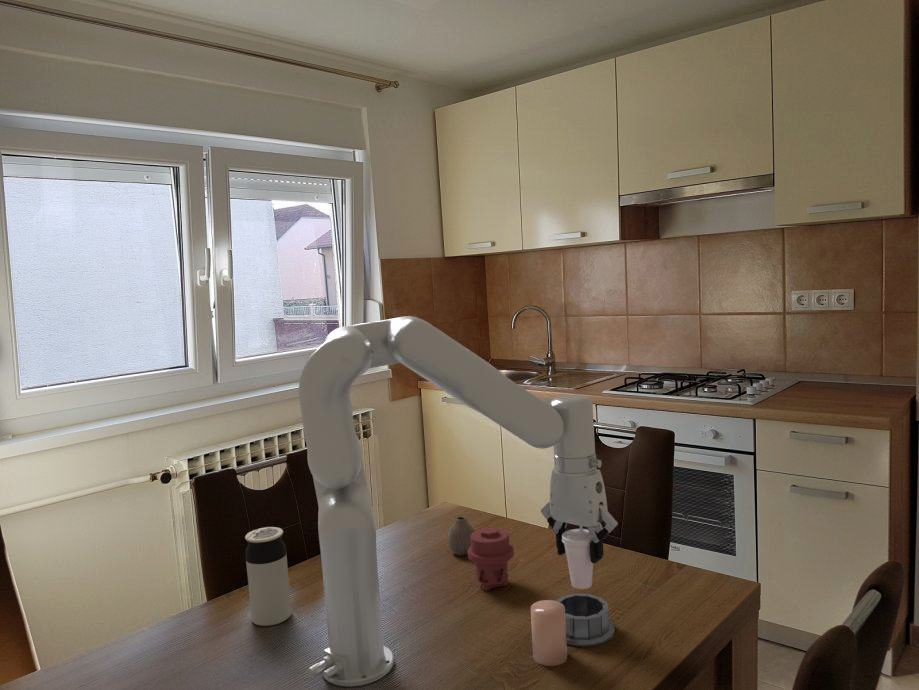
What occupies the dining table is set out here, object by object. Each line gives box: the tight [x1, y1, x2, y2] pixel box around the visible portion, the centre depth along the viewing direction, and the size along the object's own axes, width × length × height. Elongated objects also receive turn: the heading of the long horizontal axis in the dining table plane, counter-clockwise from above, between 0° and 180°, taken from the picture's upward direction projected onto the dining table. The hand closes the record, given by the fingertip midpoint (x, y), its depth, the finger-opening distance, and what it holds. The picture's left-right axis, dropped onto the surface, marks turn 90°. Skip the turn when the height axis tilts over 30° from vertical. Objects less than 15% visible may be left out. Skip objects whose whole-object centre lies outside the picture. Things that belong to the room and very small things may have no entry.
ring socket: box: [555, 593, 616, 648], centre depth 132 cm, size 12×12×5 cm
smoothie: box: [562, 526, 594, 590], centre depth 130 cm, size 6×6×14 cm
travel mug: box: [244, 526, 292, 627], centre depth 143 cm, size 8×8×18 cm
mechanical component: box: [467, 526, 515, 591], centre depth 153 cm, size 12×10×10 cm
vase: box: [447, 516, 476, 557], centre depth 171 cm, size 7×7×9 cm
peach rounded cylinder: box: [530, 599, 568, 667], centre depth 123 cm, size 6×6×9 cm
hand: (579, 555), depth 131 cm, fingers closed on smoothie, 6 cm apart
